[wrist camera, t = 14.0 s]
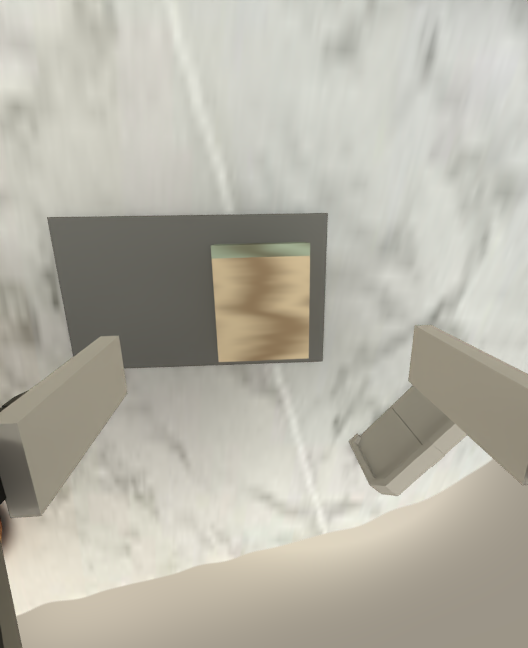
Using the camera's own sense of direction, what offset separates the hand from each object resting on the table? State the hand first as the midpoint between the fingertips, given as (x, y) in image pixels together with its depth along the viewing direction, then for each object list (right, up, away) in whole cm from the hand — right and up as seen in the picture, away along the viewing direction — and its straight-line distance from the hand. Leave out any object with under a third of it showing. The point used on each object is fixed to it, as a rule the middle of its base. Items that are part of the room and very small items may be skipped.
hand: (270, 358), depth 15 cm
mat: (-7, +4, +16) cm, 18 cm away
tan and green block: (0, -1, +16) cm, 16 cm away
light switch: (+14, -7, +21) cm, 26 cm away
